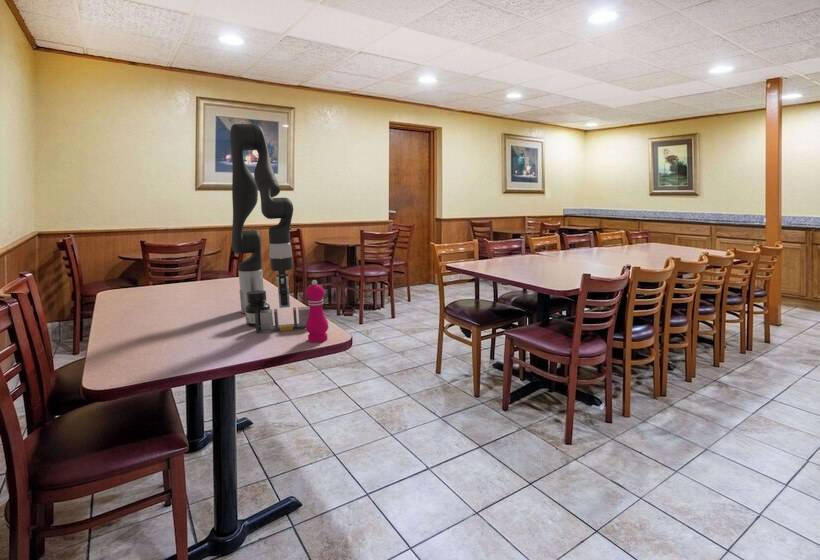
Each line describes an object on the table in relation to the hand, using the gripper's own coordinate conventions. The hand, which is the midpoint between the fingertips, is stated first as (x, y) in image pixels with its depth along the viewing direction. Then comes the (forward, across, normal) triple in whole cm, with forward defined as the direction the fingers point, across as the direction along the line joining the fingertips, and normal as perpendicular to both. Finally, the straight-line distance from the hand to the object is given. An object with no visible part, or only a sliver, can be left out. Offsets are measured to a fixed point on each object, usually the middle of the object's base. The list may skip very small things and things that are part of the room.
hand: (284, 303), depth 173 cm
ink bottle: (+9, -11, -10) cm, 18 cm away
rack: (+9, 0, 0) cm, 9 cm away
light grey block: (+1, 0, 0) cm, 1 cm away
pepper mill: (+10, +17, +10) cm, 22 cm away
